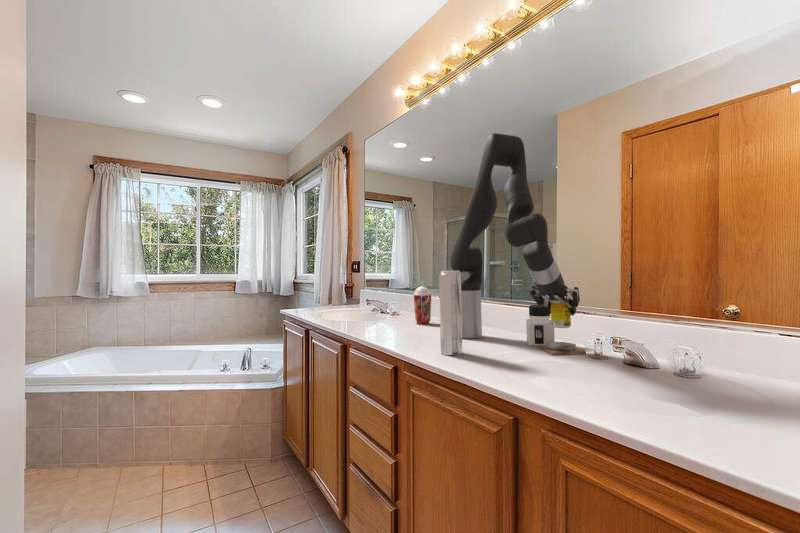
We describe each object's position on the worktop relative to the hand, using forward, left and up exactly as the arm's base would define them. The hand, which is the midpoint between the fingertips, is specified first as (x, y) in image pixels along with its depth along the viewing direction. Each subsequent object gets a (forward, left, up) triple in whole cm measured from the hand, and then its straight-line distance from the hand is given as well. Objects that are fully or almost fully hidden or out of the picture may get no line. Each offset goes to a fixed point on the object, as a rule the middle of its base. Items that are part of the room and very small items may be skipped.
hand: (562, 312), depth 119 cm
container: (-3, +10, -12) cm, 16 cm away
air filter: (-34, 0, -12) cm, 36 cm away
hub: (-1, -1, -11) cm, 12 cm away
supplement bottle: (-1, -1, -4) cm, 5 cm away
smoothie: (-37, +63, -12) cm, 74 cm away
